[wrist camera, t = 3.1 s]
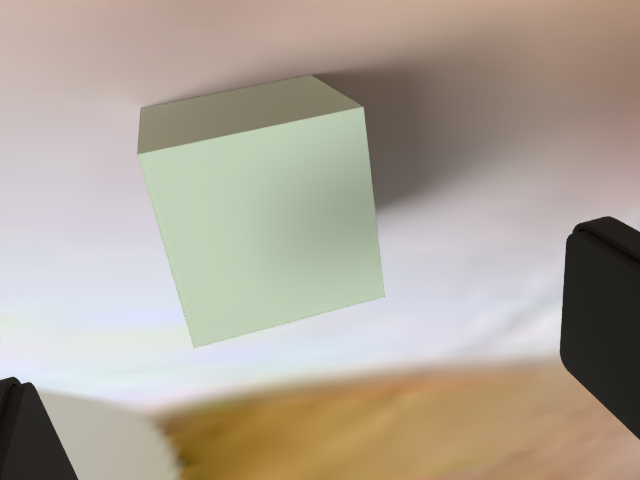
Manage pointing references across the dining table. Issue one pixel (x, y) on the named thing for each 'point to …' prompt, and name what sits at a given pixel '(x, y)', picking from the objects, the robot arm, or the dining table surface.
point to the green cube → (263, 204)
